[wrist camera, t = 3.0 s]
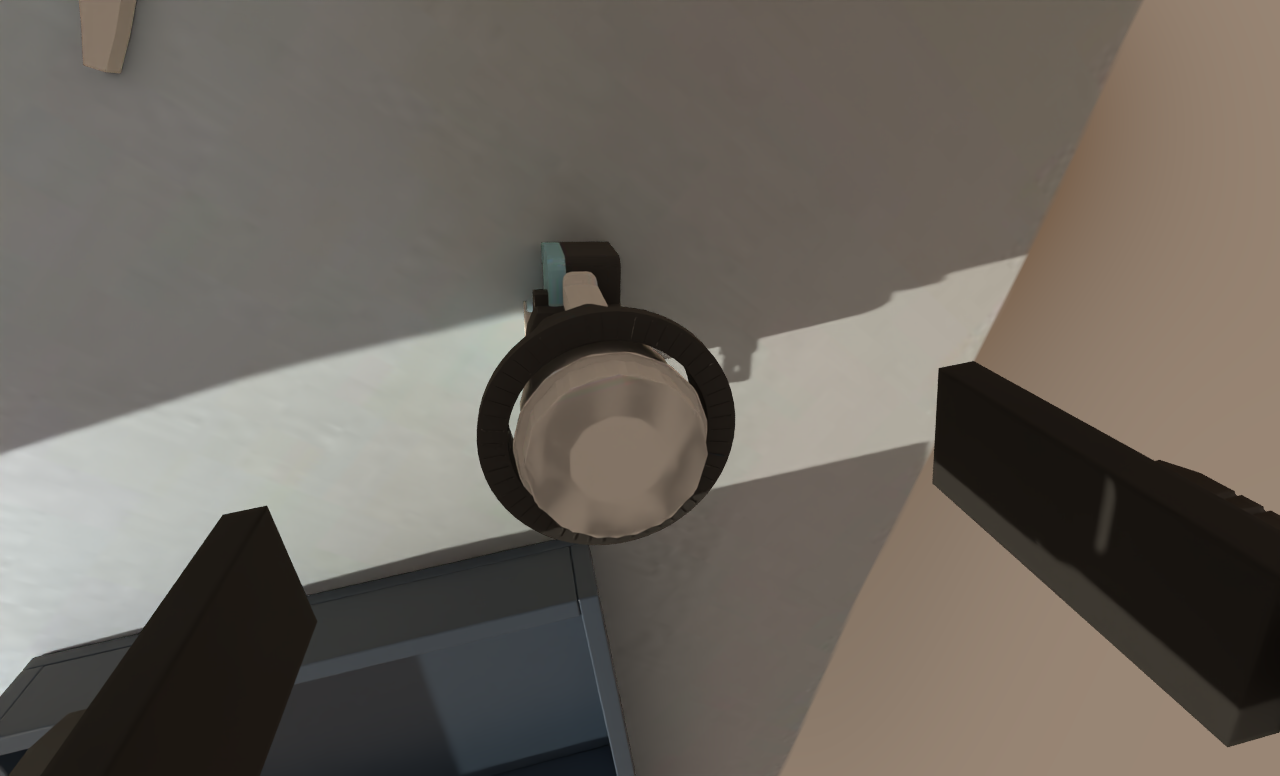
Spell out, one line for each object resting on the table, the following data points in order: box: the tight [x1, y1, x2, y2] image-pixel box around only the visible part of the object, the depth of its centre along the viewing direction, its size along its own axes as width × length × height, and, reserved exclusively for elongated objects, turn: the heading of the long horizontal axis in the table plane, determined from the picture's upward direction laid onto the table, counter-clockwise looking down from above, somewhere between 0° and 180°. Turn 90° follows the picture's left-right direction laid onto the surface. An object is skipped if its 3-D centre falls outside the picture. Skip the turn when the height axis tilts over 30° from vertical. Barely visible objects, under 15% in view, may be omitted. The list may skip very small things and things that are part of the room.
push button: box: [477, 242, 735, 545], centre depth 18 cm, size 7×5×10 cm
